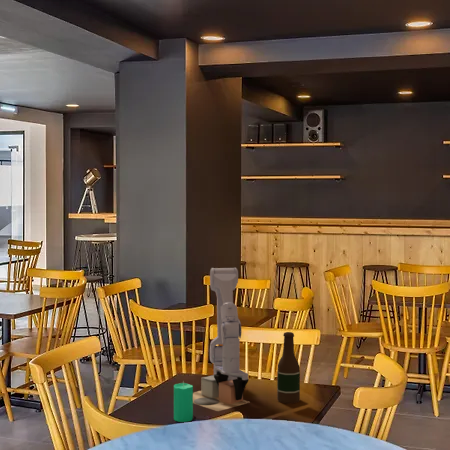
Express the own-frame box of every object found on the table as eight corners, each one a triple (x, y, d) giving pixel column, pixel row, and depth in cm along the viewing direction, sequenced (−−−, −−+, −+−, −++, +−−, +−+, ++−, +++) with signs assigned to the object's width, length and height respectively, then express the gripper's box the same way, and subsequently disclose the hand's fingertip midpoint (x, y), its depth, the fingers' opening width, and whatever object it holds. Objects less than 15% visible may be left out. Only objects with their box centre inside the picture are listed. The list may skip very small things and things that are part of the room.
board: (207, 391, 246) (207, 388, 246) (250, 405, 230) (250, 401, 230) (174, 399, 236) (174, 396, 236) (217, 414, 220) (217, 410, 220)
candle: (173, 416, 218) (173, 378, 218) (192, 415, 219) (192, 378, 218) (173, 422, 212) (173, 383, 212) (193, 421, 213) (193, 383, 212)
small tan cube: (231, 397, 237) (231, 379, 236) (243, 400, 232) (243, 382, 232) (218, 400, 233) (218, 382, 232) (230, 403, 228) (230, 386, 228)
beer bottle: (302, 401, 235) (302, 331, 235) (297, 407, 228) (297, 335, 227) (280, 399, 238) (280, 329, 237) (274, 405, 230) (274, 334, 230)
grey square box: (213, 391, 243) (213, 374, 243) (224, 395, 239) (224, 377, 239) (201, 394, 239) (201, 377, 239) (212, 398, 235) (212, 380, 235)
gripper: (207, 355, 235) (207, 394, 235) (237, 362, 224) (237, 404, 224) (223, 352, 239) (222, 391, 240) (252, 359, 229) (252, 399, 229)
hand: (230, 397), depth 232 cm, fingers open, 7 cm apart
